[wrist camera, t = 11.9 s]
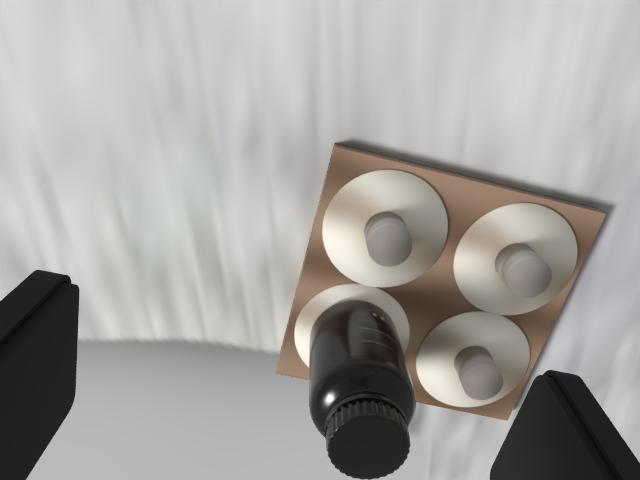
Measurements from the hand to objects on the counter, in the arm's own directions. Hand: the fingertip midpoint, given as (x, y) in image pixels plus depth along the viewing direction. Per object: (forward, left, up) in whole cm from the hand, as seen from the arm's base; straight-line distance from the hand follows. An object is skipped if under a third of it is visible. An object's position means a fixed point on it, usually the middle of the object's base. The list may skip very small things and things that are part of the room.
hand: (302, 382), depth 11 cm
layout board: (+10, +12, -28) cm, 31 cm away
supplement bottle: (+14, +7, -26) cm, 31 cm away
